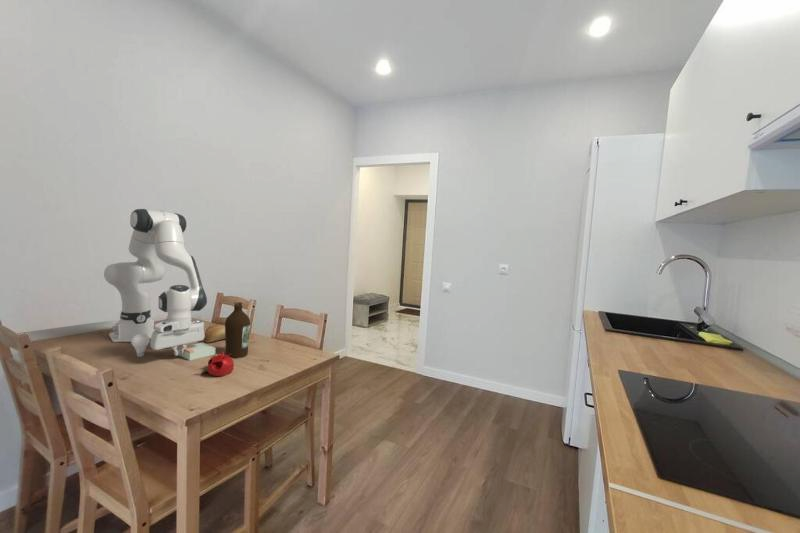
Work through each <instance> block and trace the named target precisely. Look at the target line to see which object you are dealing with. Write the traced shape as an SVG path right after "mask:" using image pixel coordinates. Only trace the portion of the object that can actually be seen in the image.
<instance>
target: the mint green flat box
mask: <svg viewBox="0 0 800 533" xmlns="http://www.w3.org/2000/svg"><path fill="white" fill-rule="evenodd" d="M180 348H181V345H178V346H177V348H176V349H177V350H180ZM214 355H216V346H215V347H214V346H212V345H209V344H207V343H206V342H204V341H203V342H202V341H201V342H198V343H195V344H194V343H193V344H190V345H188V344H187V345H186V347H185V349H184V350H183V354H181V355H178V356H180V357H181V358H184V359H186V360H188V361H192V360H193V361H194V360H197V359H201V358H206V357H209V356H214Z"/></svg>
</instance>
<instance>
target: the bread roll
mask: <svg viewBox="0 0 800 533" xmlns="http://www.w3.org/2000/svg"><path fill="white" fill-rule="evenodd" d="M204 334H205V338H204V339H203V340H202V341H203V343H212V342H217V341H222V340H225V324H224V325H223V324H213V325H210V326H208V327H207V328H206V329H205V330H204Z"/></svg>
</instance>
